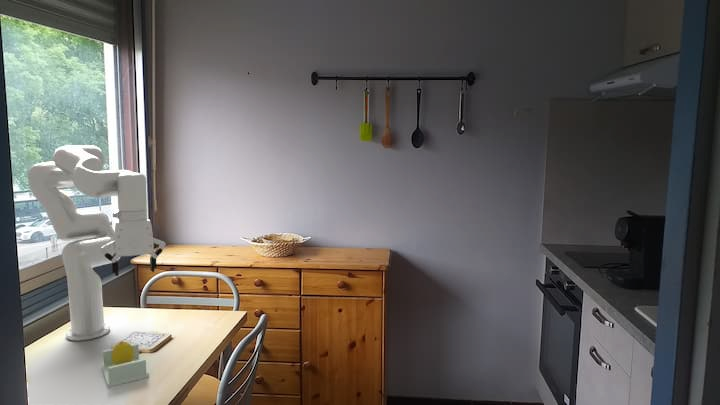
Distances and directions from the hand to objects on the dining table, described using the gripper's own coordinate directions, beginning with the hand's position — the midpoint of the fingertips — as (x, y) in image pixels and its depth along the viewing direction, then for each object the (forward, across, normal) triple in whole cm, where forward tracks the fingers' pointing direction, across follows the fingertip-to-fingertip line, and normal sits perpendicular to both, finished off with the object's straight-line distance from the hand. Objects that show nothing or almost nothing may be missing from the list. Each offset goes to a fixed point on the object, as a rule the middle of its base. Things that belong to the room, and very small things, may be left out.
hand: (134, 272), depth 141 cm
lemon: (+24, -5, -12) cm, 27 cm away
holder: (+25, -5, -12) cm, 28 cm away
